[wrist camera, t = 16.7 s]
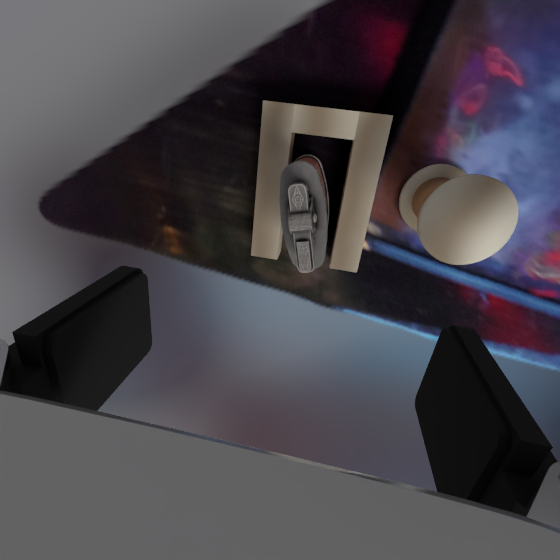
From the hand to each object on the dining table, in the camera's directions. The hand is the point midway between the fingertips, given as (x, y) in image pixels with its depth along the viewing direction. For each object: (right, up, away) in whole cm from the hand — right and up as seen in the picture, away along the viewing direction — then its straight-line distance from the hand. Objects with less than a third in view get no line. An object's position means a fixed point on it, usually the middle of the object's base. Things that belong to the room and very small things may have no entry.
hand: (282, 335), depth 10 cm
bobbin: (+14, +9, +18) cm, 25 cm away
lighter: (+3, +9, +20) cm, 23 cm away
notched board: (+3, +10, +20) cm, 22 cm away
